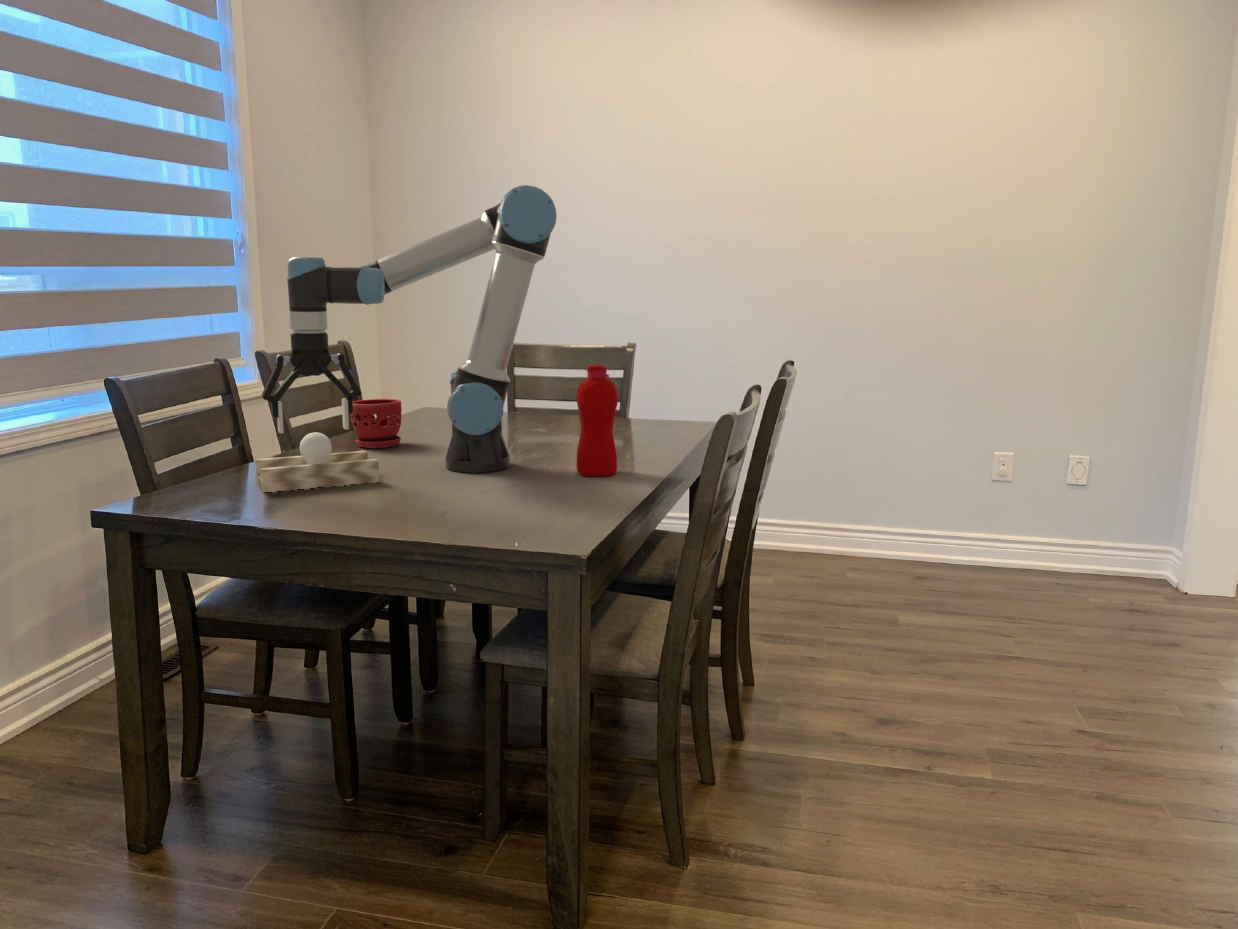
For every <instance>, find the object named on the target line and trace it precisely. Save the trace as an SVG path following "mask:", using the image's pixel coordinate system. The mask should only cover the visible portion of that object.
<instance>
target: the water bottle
mask: <svg viewBox="0 0 1238 929" xmlns="http://www.w3.org/2000/svg"><path fill="white" fill-rule="evenodd" d="M586 371H587V374H586V375H587V377H586V378H585V379H584V380H582V381H581V382H580V384H579V386H578V387H577V390H576V391H577V392H576V397H575V398H576V404H577V410H578V416H579V421H580V428H581V429H580V434H579V440H578V444H577V445H578V446H577V450H576V472H577V473H578V474H579V475H580V476H583V477H611V476H614V475H615V474H616V473H617V471H618V455H617V449H616V442H615V438H614V432H613V428H614V422H615V416H616V412H617V407H618V392H619V394H620V395H622V394H621V391H620V390H618V391H617V389H618V387H617V386H616V384H615V383H614V382H613V381H612V380H611V379H610V374H607V373H608V372H607V366H604V365H601V364H597V363H596V364H590V365H587V368H586ZM620 398H621V401H622V403H624V401H623V396H620ZM622 406H623V408H625V406H624V404H622ZM623 413H624V414H623V420H622V421H620V420H619V419H618V417H616V419H617V421H618V423H622V422H624V420H625V415H626V414H625V410H623Z"/></svg>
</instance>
